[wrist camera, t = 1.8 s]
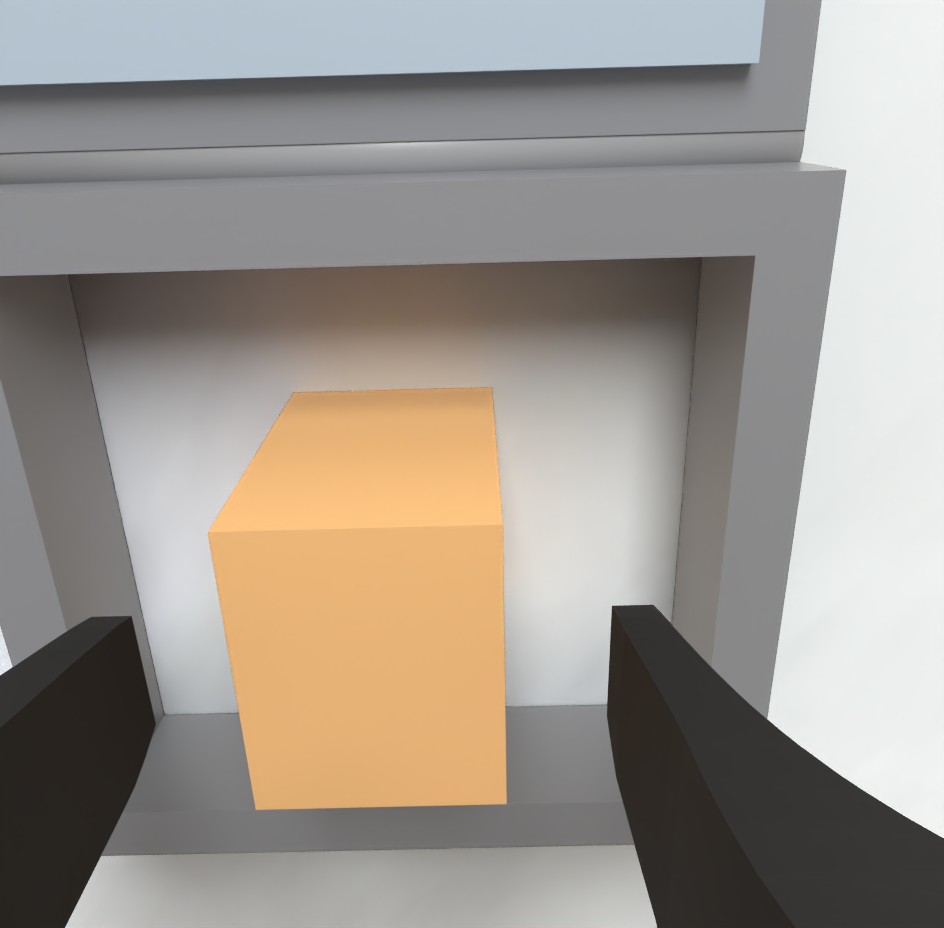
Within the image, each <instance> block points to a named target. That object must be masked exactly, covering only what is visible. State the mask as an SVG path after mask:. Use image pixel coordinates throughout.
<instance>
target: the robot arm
mask: <svg viewBox="0 0 944 928" xmlns="http://www.w3.org/2000/svg"><path fill="white" fill-rule="evenodd" d="M607 720H608V727H609V734H610V741H611V748H612V754H613V760H614V767H615V773H616V779H617V782H618V786H619V790H620V794H621V797H622V801H623V804H624V808H625V812H626V815H627V819H628V823H629V826H630V830H631V833H632V837H633V841H634V844H635V848H636V851H637V855H638V858H639V862H640V866H641V869H642V873H643V876H644V880H645V883H646V887H647V891H648V894H649V898H650V901H651V905H652V908H653V912H654V916H655V919H656V923H657V928H944V838H942V837H940V836H938V835H937V834H935V833H933V832H931V831H929V830H928V829H926V828H924V827H922V826H921V825H919V824H917V823H915V822H914V821H912V820H910V819H908V818H907V817H905V816H903V815H902V814H900V813H898V812H897V811H895V810H894V809H892V808H890V807H889V806H887V805H885V804H884V803H882V802H881V801H879V800H877V799H876V798H874V797H873V796H871V795H869V794H868V793H866V792H865V791H863V790H861V789H860V788H858V787H857V786H855V785H854V784H852V783H851V782H849V781H848V780H846V779H845V778H843V777H842V776H840V775H839V774H838V773H836V772H835V771H833V770H832V769H831V768H829V767H828V766H827V765H825V764H824V763H822V762H821V761H820V760H818V759H817V758H816V757H814V756H813V755H812V754H810V753H809V752H807V751H806V750H805V749H803V748H802V747H801V746H799V745H798V744H797V743H795V742H794V741H793V740H792V739H790V738H789V737H788V736H787V735H785V734H784V733H783V732H782V731H780V730H779V729H778V728H777V727H776V726H774V725H773V724H772V723H771V722H770V721H769V720H767V719H766V718H765V717H764V716H763V715H762V714H761V713H759V712H758V711H757V710H756V709H755V708H754V707H752V706H751V705H750V704H749V703H748V702H747V701H746V700H745V699H744V698H743V697H742V696H740V695H739V694H738V693H737V692H736V691H735V690H734V689H733V688H732V687H731V686H730V685H729V684H728V683H727V682H726V681H725V680H724V679H723V678H722V677H721V676H720V675H719V674H718V673H717V672H716V671H715V670H714V669H713V668H712V667H711V666H710V665H709V664H708V663H707V662H706V661H705V660H704V659H703V658H702V657H701V656H700V655H699V654H698V653H697V651H696V650H695V649H694V648H693V647H692V646H691V645H690V644H689V643H688V642H687V641H686V640H685V639H684V637H683V636H682V635H681V634H680V633H679V632H678V631H677V630H676V629H675V628H674V627H673V625H672V624H671V623H670V622H669V621H668V620H667V619H666V618H665V617H664V615H663V614H662V613H661V612H660V611H659V610H658V609H657V608H656V607H655V606H654V605H630V606H612V619H611V640H610V661H609V681H608V702H607ZM155 726H156V722H155V717H154V713H153V708H152V704H151V700H150V695H149V691H148V686H147V682H146V677H145V673H144V668H143V664H142V660H141V655H140V651H139V646H138V642H137V637H136V633H135V629H134V624H133V620H132V616H101V617H90V618H88V619H87V620H85V621H83V622H81V623H79V624H78V625H76V626H74V627H73V628H71V629H70V630H68V631H67V632H65V633H63V634H62V635H60V636H59V637H57V638H56V639H54V640H53V641H51V642H50V643H48V644H47V645H45V646H44V647H42V648H41V649H39V650H38V651H36V652H35V653H33V654H32V655H30V656H29V657H27V658H26V659H24V660H23V661H21V662H20V663H18V664H17V665H15V666H14V667H12V668H11V669H9V670H8V671H6V672H5V673H3V674H2V675H0V928H65V926H66V924H67V922H68V920H69V918H70V916H71V914H72V912H73V910H74V908H75V906H76V904H77V903H78V901H79V899H80V897H81V895H82V893H83V891H84V889H85V887H86V885H87V883H88V881H89V879H90V877H91V875H92V873H93V871H94V869H95V867H96V865H97V863H98V861H99V859H100V857H101V855H102V853H103V851H104V849H105V847H106V845H107V843H108V841H109V839H110V837H111V835H112V833H113V831H114V829H115V827H116V825H117V823H118V821H119V819H120V817H121V815H122V813H123V811H124V809H125V807H126V805H127V802H128V800H129V798H130V796H131V794H132V792H133V790H134V788H135V785H136V783H137V780H138V777H139V774H140V771H141V769H142V766H143V763H144V760H145V757H146V754H147V751H148V748H149V745H150V742H151V739H152V736H153V732H154V729H155Z"/></svg>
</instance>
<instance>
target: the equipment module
mask: <svg viewBox="0 0 944 928" xmlns="http://www.w3.org/2000/svg"><path fill="white" fill-rule="evenodd" d="M208 537H209V543H210V548H211V554H212V560H213V566H214V572H215V577H216V583H217V589H218V595H219V600H220V606H221V612H222V618H223V623H224V629H225V635H226V641H227V647H228V652H229V658H230V664H231V670H232V675H233V681H234V687H235V693H236V699H237V704H238V710H239V716H240V722H241V727H242V733H243V739H244V745H245V750H246V756H247V762H248V768H249V774H250V779H251V785H252V791H253V797H254V802H255V808H256V810H268V809H313V808H357V807H401V806H445V805H490V804H507V792H506V720H505V648H504V576H503V521H502V509H501V496H500V483H499V471H498V458H497V446H496V433H495V420H494V408H493V395H492V387H480V388H442V389H404V390H367V391H329V392H293V394H292V396H291V397H290V399H289V400H288V402H287V404H286V405H285V407H284V409H283V410H282V412H281V414H280V415H279V417H278V418H277V420H276V422H275V423H274V425H273V427H272V428H271V430H270V431H269V433H268V435H267V436H266V438H265V440H264V441H263V443H262V444H261V446H260V448H259V449H258V451H257V453H256V454H255V456H254V458H253V459H252V461H251V462H250V464H249V466H248V467H247V469H246V471H245V472H244V474H243V475H242V477H241V479H240V480H239V482H238V484H237V485H236V487H235V488H234V490H233V492H232V493H231V495H230V497H229V498H228V500H227V502H226V503H225V505H224V506H223V508H222V510H221V511H220V513H219V515H218V516H217V518H216V519H215V521H214V523H213V524H212V526H211V528H210V529H209V531H208Z"/></svg>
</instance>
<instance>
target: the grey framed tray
mask: <svg viewBox="0 0 944 928" xmlns="http://www.w3.org/2000/svg"><path fill="white" fill-rule="evenodd" d="M820 8H821V0H0V626H1V629H2V633H3V636H4V639H5V643H6V646H7V649H8V653H9V656H10V659H11V663H12V666H13V667H14V666H15V665H17V664H18V663H20V662H21V661H23V660H24V659H26V658H27V657H29V656H30V655H32V654H33V653H35V652H36V651H38V650H39V649H41V648H42V647H44V646H45V645H47V644H48V643H50V642H51V641H53V640H54V639H56V638H57V637H59V636H60V635H62V634H63V633H65V632H67V631H68V630H70V629H71V628H73V627H74V626H76V625H78V624H79V623H81V622H83V621H85V620H87V619H88V618H90V617H101V616H132V620H133V624H134V629H135V633H136V637H137V642H138V646H139V651H140V655H141V660H142V664H143V668H144V673H145V677H146V682H147V686H148V691H149V695H150V700H151V704H152V708H153V713H154V717H155V722H156V726H155V729H154V732H153V736H152V739H151V742H150V745H149V748H148V751H147V754H146V757H145V760H144V763H143V766H142V769H141V771H140V774H139V777H138V780H137V783H136V785H135V788H134V790H133V792H132V794H131V796H130V798H129V800H128V802H127V805H126V807H125V809H124V811H123V813H122V815H121V817H120V819H119V821H118V823H117V825H116V827H115V829H114V831H113V833H112V835H111V837H110V839H109V841H108V843H107V845H106V847H105V849H104V851H103V853H102V855H101V856H117V855H164V854H211V853H258V852H305V851H352V850H399V849H446V848H493V847H540V846H587V845H634V841H633V837H632V833H631V830H630V826H629V823H628V819H627V815H626V812H625V808H624V804H623V801H622V797H621V794H620V790H619V786H618V782H617V779H616V773H615V767H614V760H613V754H612V748H611V741H610V734H609V727H608V720H607V705H577V706H533V707H505V720H506V792H507V804H490V805H445V806H401V807H357V808H313V809H268V810H256V808H255V802H254V797H253V791H252V785H251V779H250V774H249V768H248V762H247V756H246V750H245V745H244V739H243V733H242V727H241V722H240V716H239V713H225V714H181V715H164V713H163V708H162V703H161V699H160V694H159V690H158V685H157V681H156V676H155V671H154V667H153V662H152V658H151V653H150V648H149V644H148V639H147V635H146V630H145V626H144V621H143V616H142V612H141V607H140V603H139V598H138V594H137V589H136V584H135V580H134V575H133V571H132V566H131V562H130V557H129V552H128V548H127V543H126V539H125V534H124V530H123V525H122V520H121V516H120V511H119V507H118V502H117V497H116V493H115V488H114V484H113V479H112V475H111V470H110V465H109V461H108V456H107V452H106V447H105V443H104V438H103V433H102V429H101V424H100V420H99V415H98V411H97V406H96V401H95V397H94V392H93V388H92V383H91V379H90V374H89V369H88V365H87V360H86V356H85V351H84V346H83V342H82V337H81V333H80V328H79V324H78V319H77V314H76V310H75V305H74V301H73V296H72V292H71V287H70V282H69V278H68V274H95V273H131V272H168V271H204V270H241V269H278V268H314V267H351V266H387V265H424V264H461V263H497V262H534V261H570V260H607V259H644V258H680V257H702V265H701V277H700V289H699V302H698V314H697V326H696V338H695V350H694V362H693V374H692V387H691V399H690V411H689V423H688V435H687V447H686V459H685V471H684V484H683V496H682V508H681V520H680V532H679V544H678V556H677V569H676V581H675V593H674V605H673V617H672V625H673V627H674V628H675V629H676V630H677V631H678V632H679V633H680V634H681V635H682V636H683V637H684V639H685V640H686V641H687V642H688V643H689V644H690V645H691V646H692V647H693V648H694V649H695V650H696V651H697V653H698V654H699V655H700V656H701V657H702V658H703V659H704V660H705V661H706V662H707V663H708V664H709V665H710V666H711V667H712V668H713V669H714V670H715V671H716V672H717V673H718V674H719V675H720V676H721V677H722V678H723V679H724V680H725V681H726V682H727V683H728V684H729V685H730V686H731V687H732V688H733V689H734V690H735V691H736V692H737V693H738V694H739V695H740V696H742V697H743V698H744V699H745V700H746V701H747V702H748V703H749V704H750V705H751V706H752V707H754V708H755V709H756V710H757V711H758V712H759V713H761V714H762V715H763V716H764V717H765V718H766V719H767V716H768V709H769V702H770V695H771V688H772V682H773V675H774V668H775V661H776V654H777V647H778V640H779V633H780V626H781V619H782V612H783V605H784V598H785V592H786V585H787V578H788V571H789V564H790V557H791V550H792V543H793V536H794V529H795V522H796V515H797V508H798V502H799V495H800V488H801V481H802V474H803V467H804V460H805V453H806V446H807V439H808V432H809V425H810V418H811V412H812V405H813V398H814V391H815V384H816V377H817V370H818V363H819V356H820V349H821V342H822V335H823V329H824V322H825V315H826V308H827V301H828V294H829V287H830V280H831V273H832V266H833V259H834V252H835V245H836V239H837V232H838V225H839V218H840V211H841V204H842V197H843V190H844V183H845V176H846V170H843V169H838V168H832V167H826V166H821V165H815V164H809V163H803V162H800V159H801V156H802V151H803V145H804V135H805V129H806V121H807V113H808V105H809V97H810V89H811V81H812V73H813V65H814V57H815V49H816V41H817V32H818V24H819V16H820Z"/></svg>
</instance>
